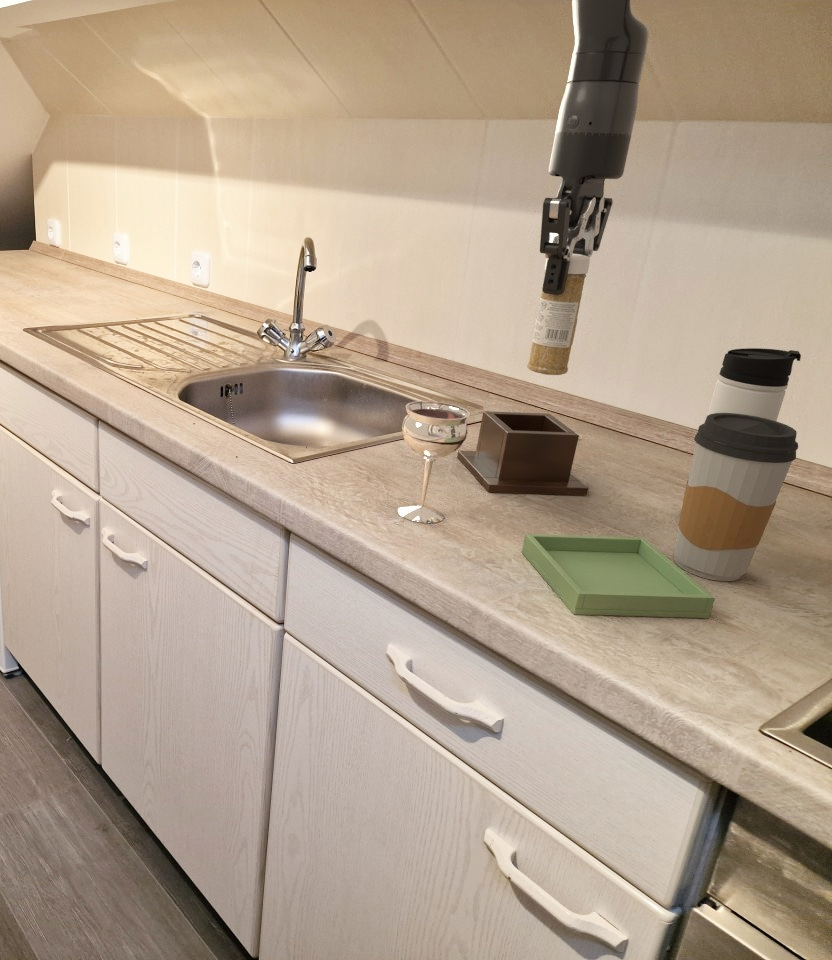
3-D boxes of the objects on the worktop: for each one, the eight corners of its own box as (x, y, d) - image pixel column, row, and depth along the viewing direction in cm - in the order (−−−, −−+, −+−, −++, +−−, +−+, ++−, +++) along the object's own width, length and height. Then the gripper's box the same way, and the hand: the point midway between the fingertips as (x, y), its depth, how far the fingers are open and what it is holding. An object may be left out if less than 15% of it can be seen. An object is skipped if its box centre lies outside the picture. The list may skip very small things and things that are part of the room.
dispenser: (546, 460, 113) (557, 410, 110) (587, 495, 102) (600, 440, 99) (456, 457, 112) (465, 406, 110) (488, 492, 101) (498, 436, 99)
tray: (639, 556, 87) (644, 537, 86) (708, 618, 75) (715, 597, 75) (521, 552, 86) (525, 533, 86) (573, 614, 75) (578, 593, 74)
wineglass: (378, 503, 96) (393, 401, 92) (431, 499, 98) (448, 399, 94) (409, 528, 90) (425, 421, 86) (464, 524, 92) (483, 418, 88)
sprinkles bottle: (569, 370, 101) (593, 254, 96) (563, 378, 98) (588, 257, 93) (529, 364, 103) (551, 250, 98) (522, 371, 100) (543, 254, 95)
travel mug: (746, 540, 91) (804, 358, 84) (677, 525, 94) (728, 348, 87) (744, 521, 97) (799, 347, 89) (679, 507, 100) (727, 338, 92)
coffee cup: (771, 574, 84) (819, 430, 79) (732, 595, 80) (780, 444, 74) (686, 542, 90) (725, 406, 85) (645, 560, 86) (683, 418, 80)
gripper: (605, 128, 84) (570, 303, 90) (652, 134, 93) (618, 291, 100) (530, 126, 88) (502, 293, 95) (583, 132, 98) (554, 283, 104)
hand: (561, 291), depth 97 cm, fingers closed on sprinkles bottle, 4 cm apart
